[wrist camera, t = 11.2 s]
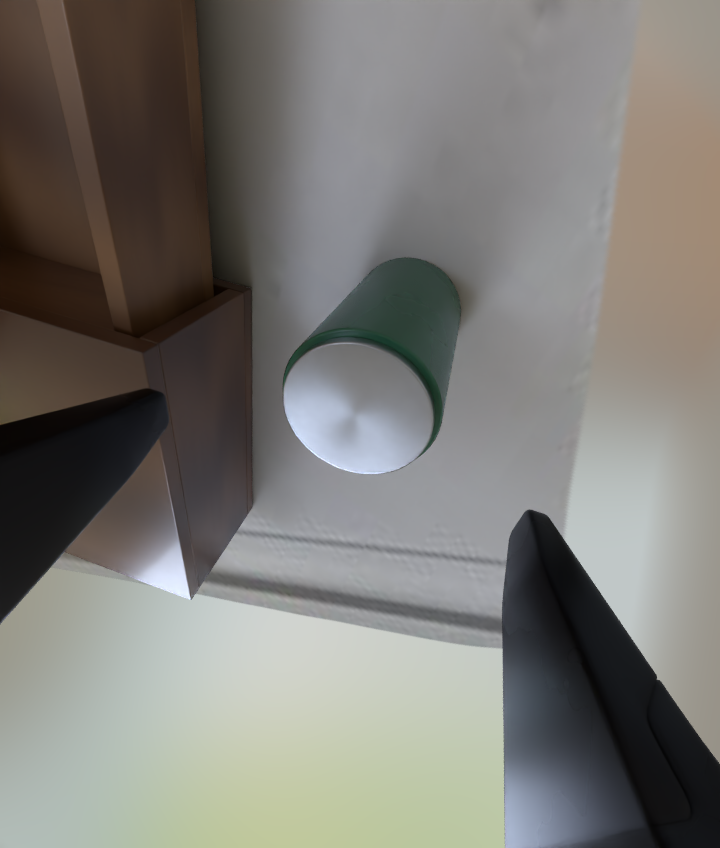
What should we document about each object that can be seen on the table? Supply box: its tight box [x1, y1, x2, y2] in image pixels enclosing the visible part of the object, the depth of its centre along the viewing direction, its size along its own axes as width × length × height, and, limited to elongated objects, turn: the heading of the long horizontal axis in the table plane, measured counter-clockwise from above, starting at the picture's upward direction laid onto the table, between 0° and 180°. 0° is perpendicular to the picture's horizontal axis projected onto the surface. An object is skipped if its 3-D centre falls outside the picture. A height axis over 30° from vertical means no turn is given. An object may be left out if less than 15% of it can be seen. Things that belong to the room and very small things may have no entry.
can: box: [283, 258, 461, 474], centre depth 14 cm, size 5×5×8 cm
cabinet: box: [0, 278, 252, 600], centre depth 22 cm, size 17×15×8 cm
